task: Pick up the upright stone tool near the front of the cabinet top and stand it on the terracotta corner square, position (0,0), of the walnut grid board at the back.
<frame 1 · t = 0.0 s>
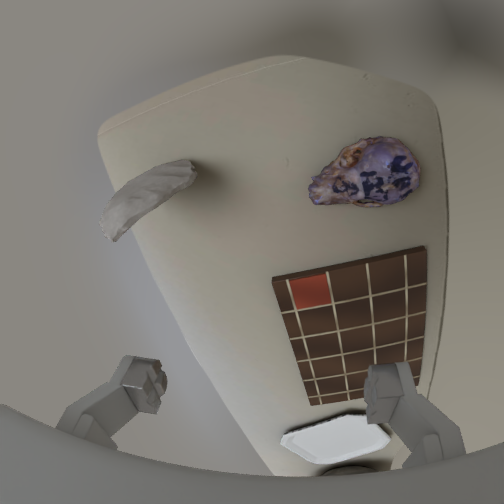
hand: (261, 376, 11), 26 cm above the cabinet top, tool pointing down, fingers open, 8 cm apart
plate: (337, 435, 58), on the cabinet top
board: (360, 340, 44), on the cabinet top
stone tool: (174, 171, 35), on the cabinet top
skull: (359, 171, 32), on the cabinet top
pot: (347, 470, 69), on the cabinet top
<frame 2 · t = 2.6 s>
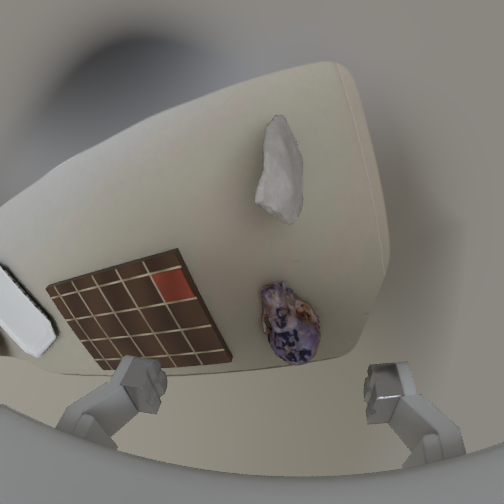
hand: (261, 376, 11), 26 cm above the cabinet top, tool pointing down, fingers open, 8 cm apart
plate: (18, 309, 52), on the cabinet top
board: (131, 321, 47), on the cabinet top
stone tool: (286, 153, 32), on the cabinet top
skull: (289, 311, 42), on the cabinet top
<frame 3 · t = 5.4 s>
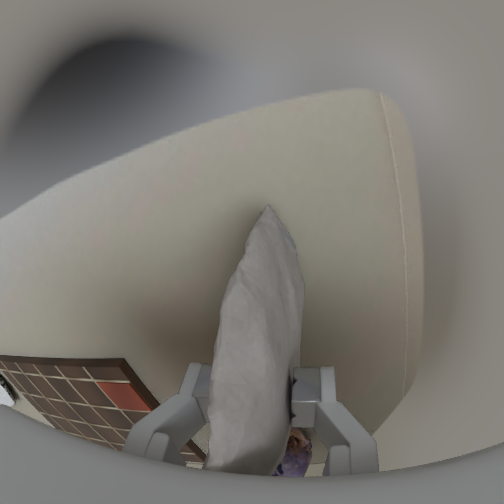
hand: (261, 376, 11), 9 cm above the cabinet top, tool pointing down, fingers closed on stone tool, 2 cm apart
board: (87, 409, 34), on the cabinet top
stone tool: (275, 256, 19), on the cabinet top, touching gripper
skull: (273, 429, 29), on the cabinet top
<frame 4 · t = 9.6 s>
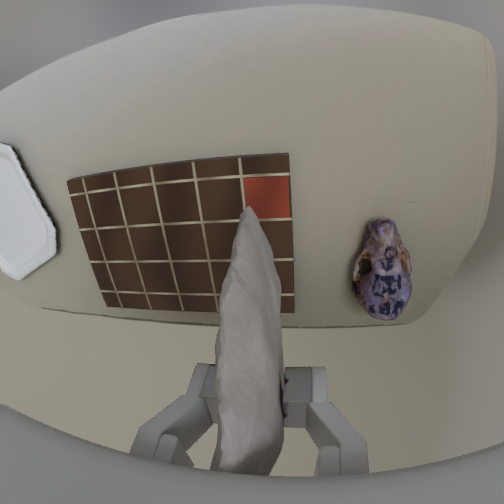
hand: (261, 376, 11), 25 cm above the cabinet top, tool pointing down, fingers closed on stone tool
plate: (11, 212, 40), on the cabinet top
board: (178, 241, 38), on the cabinet top
stone tool: (248, 257, 20), point 16 cm above the cabinet top, touching gripper
skull: (381, 258, 36), on the cabinet top
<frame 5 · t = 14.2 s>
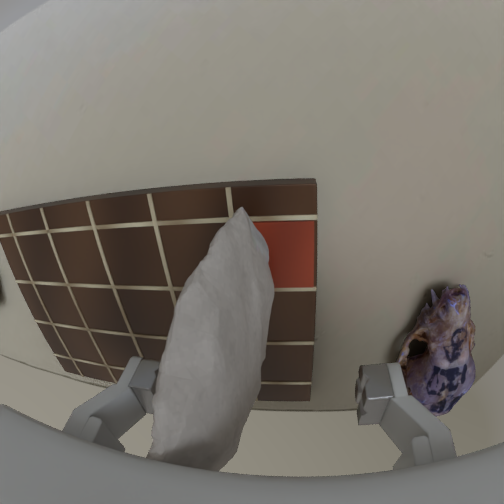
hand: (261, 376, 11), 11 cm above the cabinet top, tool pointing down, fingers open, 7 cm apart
board: (141, 308, 25), on the cabinet top
stone tool: (250, 256, 20), point 1 cm above the cabinet top, touching board
skull: (436, 332, 23), on the cabinet top
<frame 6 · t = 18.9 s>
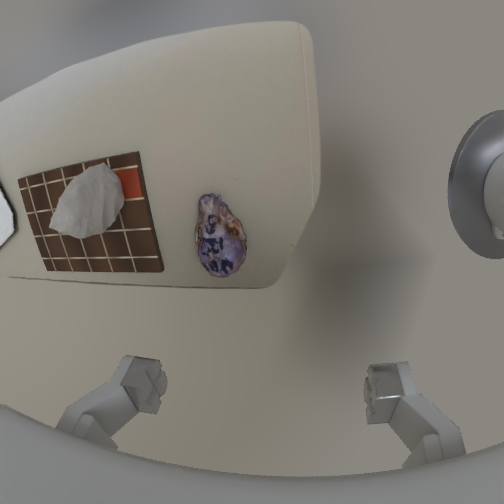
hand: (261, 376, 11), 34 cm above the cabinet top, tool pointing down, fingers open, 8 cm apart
board: (83, 219, 49), on the cabinet top
stone tool: (118, 185, 44), point 1 cm above the cabinet top, touching board
skull: (221, 227, 47), on the cabinet top
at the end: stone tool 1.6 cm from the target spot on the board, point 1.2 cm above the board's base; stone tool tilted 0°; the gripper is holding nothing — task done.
